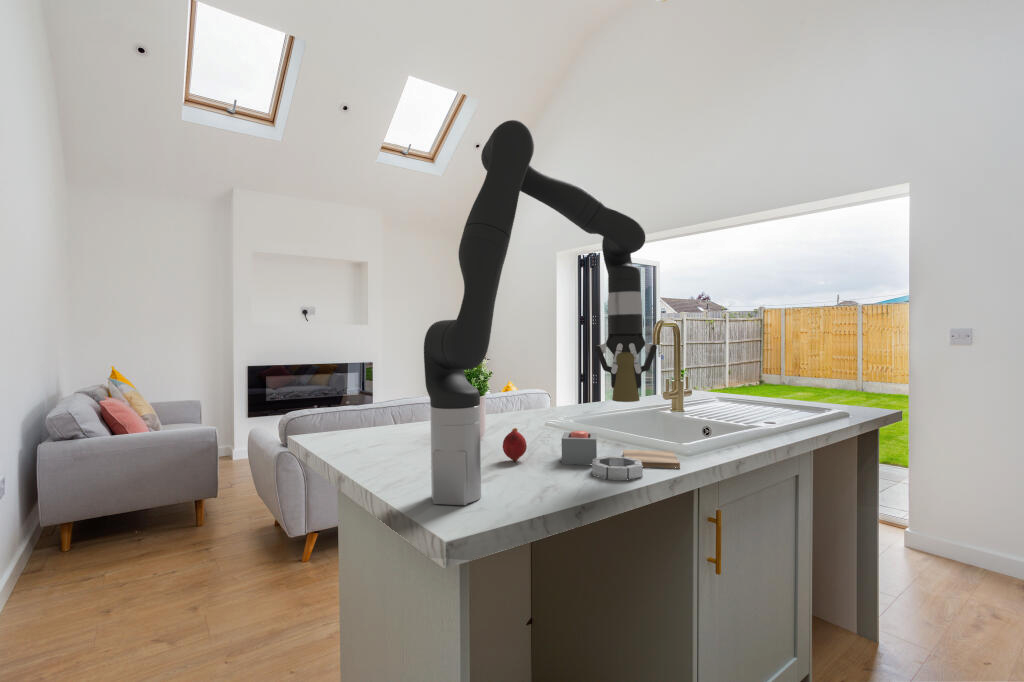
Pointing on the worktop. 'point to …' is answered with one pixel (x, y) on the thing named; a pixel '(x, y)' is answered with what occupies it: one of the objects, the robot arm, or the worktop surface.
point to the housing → (579, 449)
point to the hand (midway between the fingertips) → (626, 389)
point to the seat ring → (617, 467)
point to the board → (654, 458)
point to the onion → (514, 445)
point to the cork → (625, 379)
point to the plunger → (579, 434)
